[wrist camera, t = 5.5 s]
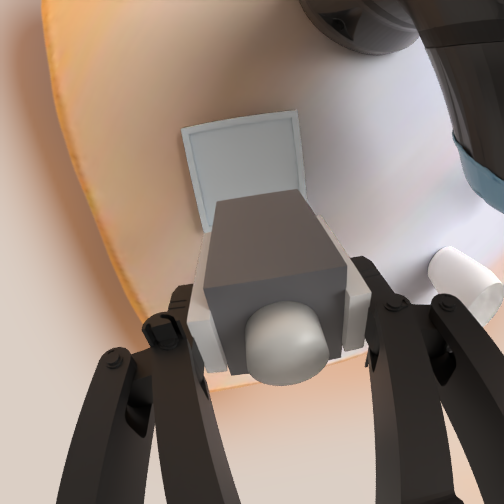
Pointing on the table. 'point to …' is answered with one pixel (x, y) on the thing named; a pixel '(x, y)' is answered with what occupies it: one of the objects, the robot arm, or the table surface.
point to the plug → (275, 288)
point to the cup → (466, 283)
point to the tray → (243, 159)
